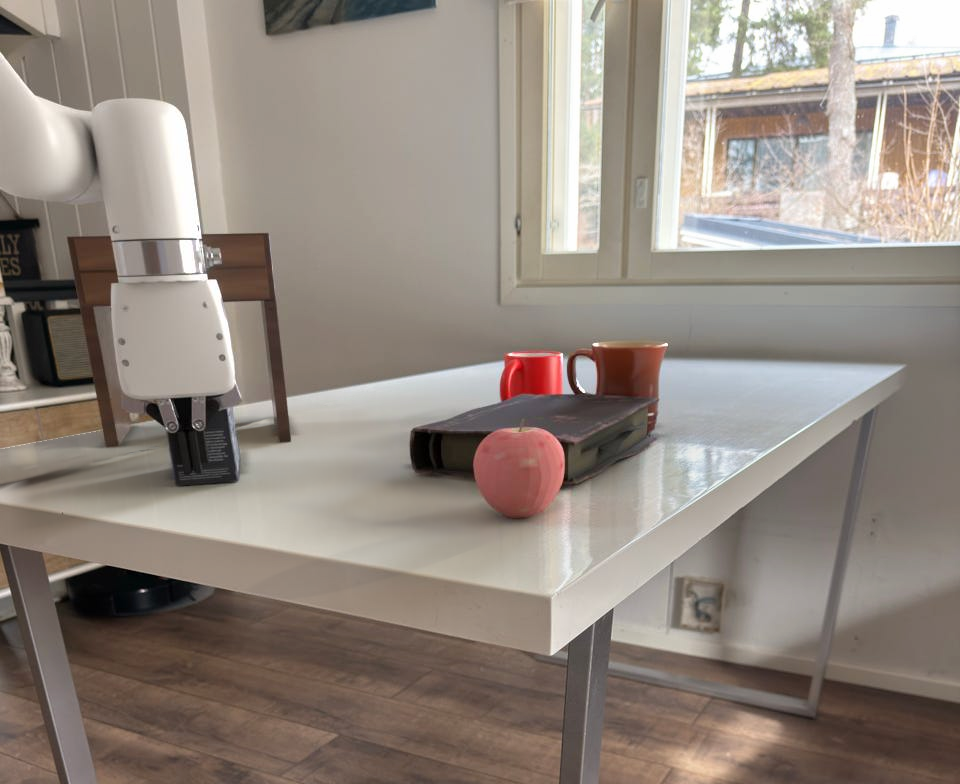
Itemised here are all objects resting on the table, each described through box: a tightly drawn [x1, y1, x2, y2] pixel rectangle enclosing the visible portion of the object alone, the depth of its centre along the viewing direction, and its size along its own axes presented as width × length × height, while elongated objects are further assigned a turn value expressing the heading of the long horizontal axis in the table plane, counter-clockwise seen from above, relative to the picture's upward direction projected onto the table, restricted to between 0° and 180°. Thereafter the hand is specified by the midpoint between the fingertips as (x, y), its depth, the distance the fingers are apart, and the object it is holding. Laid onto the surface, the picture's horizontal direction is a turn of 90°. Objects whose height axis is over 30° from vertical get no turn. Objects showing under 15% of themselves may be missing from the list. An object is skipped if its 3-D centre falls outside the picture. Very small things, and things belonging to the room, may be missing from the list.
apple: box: [473, 418, 565, 519], centre depth 73 cm, size 7×7×8 cm
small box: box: [165, 394, 242, 487], centre depth 90 cm, size 11×6×10 cm, turn 13°
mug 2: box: [566, 340, 668, 435], centre depth 106 cm, size 12×9×10 cm
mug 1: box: [499, 350, 564, 402], centre depth 120 cm, size 8×12×8 cm, turn 149°
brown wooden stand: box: [66, 232, 292, 448], centre depth 107 cm, size 14×21×23 cm
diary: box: [409, 393, 660, 486], centre depth 94 cm, size 19×25×5 cm
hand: (193, 471), depth 85 cm, fingers closed
